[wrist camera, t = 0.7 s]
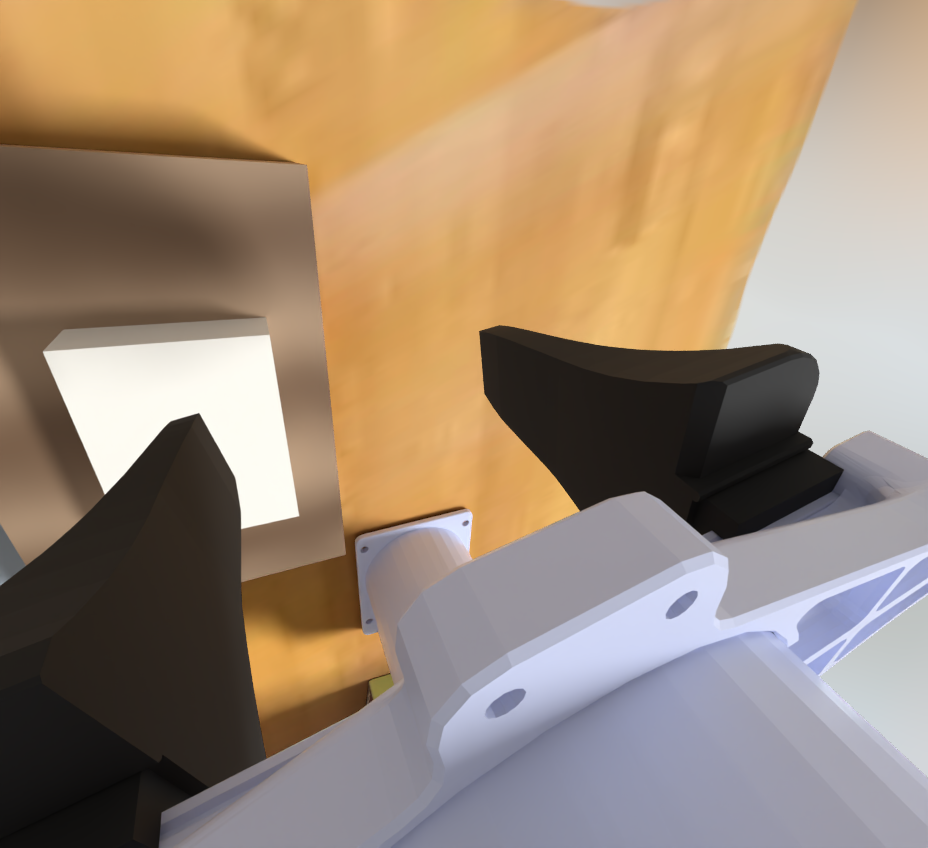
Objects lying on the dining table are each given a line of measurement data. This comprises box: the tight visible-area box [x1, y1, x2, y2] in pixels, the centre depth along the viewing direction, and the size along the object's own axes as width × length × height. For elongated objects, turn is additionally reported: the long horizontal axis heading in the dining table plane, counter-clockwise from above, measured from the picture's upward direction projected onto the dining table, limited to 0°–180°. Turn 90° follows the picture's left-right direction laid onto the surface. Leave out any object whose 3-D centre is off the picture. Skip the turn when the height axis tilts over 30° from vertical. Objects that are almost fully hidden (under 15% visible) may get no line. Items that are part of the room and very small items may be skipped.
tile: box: [43, 317, 299, 529], centre depth 17 cm, size 8×6×2 cm
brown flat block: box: [0, 144, 346, 582], centre depth 18 cm, size 18×12×4 cm, turn 176°
